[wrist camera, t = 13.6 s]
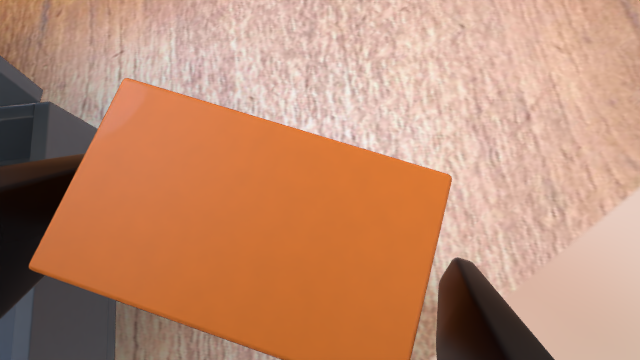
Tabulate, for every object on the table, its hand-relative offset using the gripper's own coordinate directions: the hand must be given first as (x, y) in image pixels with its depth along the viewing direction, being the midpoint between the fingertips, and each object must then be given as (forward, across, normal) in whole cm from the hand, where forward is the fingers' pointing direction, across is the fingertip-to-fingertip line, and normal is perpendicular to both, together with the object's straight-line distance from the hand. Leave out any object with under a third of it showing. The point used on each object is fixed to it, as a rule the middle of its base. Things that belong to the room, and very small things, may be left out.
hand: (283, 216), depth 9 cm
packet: (+5, 0, +6) cm, 8 cm away
